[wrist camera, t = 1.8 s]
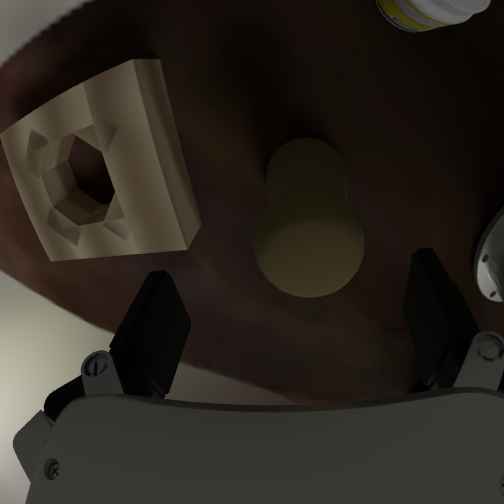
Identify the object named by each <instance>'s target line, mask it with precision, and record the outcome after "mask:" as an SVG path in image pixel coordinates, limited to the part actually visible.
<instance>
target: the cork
mask: <svg viewBox="0 0 504 504" xmlns="http://www.w3.org/2000/svg"><path fill="white" fill-rule="evenodd" d="M266 180H267V194H268V208H267V209H266V210H265V211H264V213H263V215H262V217H261V219H260V221H259V223H258V224H257V228H256V232H255V240H254V249H255V254H256V258H257V262H258V266H259V267H260V269H261V270H262V272H263V273H264V275H265V276H266V278H267V279H268V280H269V281H270V282H271V283H272V284H274V285H275V286H276V287H277V288H279V289H280V290H282V291H284V292H287V293H289V294H291V295H294V296H301V297H320V296H324V295H327V294H330V293H333V292H335V291H337V290H338V289H340V288H341V287H343V286H344V285H346V284H347V283H348V282H349V280H350V279H351V278H352V277H353V276H354V274H355V273H356V272H357V271H358V269H359V267H360V264H361V261H362V259H363V256H364V233H363V230H362V227H361V225H360V222H359V220H358V217H357V215H356V213H355V212H354V211H353V210H352V209H351V208H350V207H349V206H348V192H347V173H346V166H345V164H344V161H343V159H342V157H341V155H340V154H339V153H338V152H337V151H336V150H335V149H334V148H333V147H332V146H331V145H329V144H327V143H325V142H323V141H321V140H318V139H313V138H299V139H293V140H291V141H289V142H287V143H285V144H283V145H281V146H280V147H279V148H278V149H277V150H276V151H275V152H274V153H273V155H272V157H271V159H270V161H269V163H268V166H267V174H266Z"/></svg>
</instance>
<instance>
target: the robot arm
mask: <svg viewBox="0 0 504 504" xmlns="http://www.w3.org/2000/svg"><path fill="white" fill-rule="evenodd" d="M473 271H474V278H475V282H476V284H477V286H478V288H479V290H480V291H481V293H482V294H483V295H484V296H485V297H486V298H488V299H489V300H493V301H503V303H504V206H503V207H502V208H501V209H500V210H499V211H498V212H497V213H496V214H495V216H494V217H493V218H492V220H491V221H490V222H489V224H488V226H487V227H486V229H485V231H484V233H483V234H482V237H481V239H480V241H479V244H478V246H477V250H476V253H475V257H474V265H473ZM403 312H404V316H405V319H406V323H407V326H408V329H409V332H410V336H411V339H412V342H413V346H414V349H415V353H416V357H417V360H418V364H419V368H420V372H421V376H422V380H423V383H424V385H428V388H429V391H424V392H418V393H412V394H406V395H399V396H392V397H385V398H377V399H369V400H360V401H351V402H339V403H325V404H307V405H230V404H213V403H198V402H187V401H177V400H169V399H164V397H165V394H168V393H169V391H170V388H171V385H172V382H173V379H174V376H175V373H176V369H177V367H178V364H179V361H180V358H181V355H182V352H183V349H184V346H185V343H186V340H187V337H188V334H189V331H190V328H191V321H190V318H189V316H188V314H187V312H186V309H185V307H184V305H183V303H182V300H181V298H180V296H179V293H178V291H177V289H176V287H175V284H174V282H173V279H172V277H171V275H170V274H167V272H166V271H164V270H159V271H151V272H150V273H149V275H148V276H147V278H146V280H145V281H144V283H143V285H142V287H141V288H140V290H139V292H138V294H137V295H136V297H135V299H134V301H133V303H132V304H131V306H130V308H129V310H128V312H127V313H126V315H125V317H124V319H123V321H122V323H121V324H120V326H119V328H118V330H117V332H116V334H115V336H114V338H113V340H112V342H111V343H110V345H109V347H110V348H111V349H110V351H109V353H108V352H107V351H103V350H100V351H96V352H93V353H92V354H90V355H89V356H88V357H87V358H86V359H85V360H84V362H83V363H82V366H81V375H80V376H78V377H77V378H75V379H74V380H72V381H70V382H68V383H67V384H65V385H63V386H61V387H60V388H58V389H56V390H55V391H53V392H52V393H50V394H49V396H48V397H47V398H46V401H45V404H44V411H41V410H40V411H39V412H38V413H37V414H36V415H35V416H34V417H33V418H32V419H31V420H30V421H29V422H28V423H27V424H26V425H25V426H24V427H23V428H21V429H20V431H18V432H17V434H16V435H15V437H14V440H13V448H14V451H15V453H16V455H17V457H18V459H19V461H20V463H21V465H22V467H23V469H24V471H25V473H26V475H27V477H28V479H29V480H30V482H31V485H30V488H29V492H28V495H27V499H26V504H504V339H503V338H502V337H501V336H500V335H499V334H497V333H495V332H492V331H482V332H480V331H479V329H478V326H477V324H476V322H475V320H474V318H473V316H472V314H471V312H470V310H469V308H468V306H467V304H466V302H465V300H464V298H463V296H462V294H461V292H460V290H459V289H458V287H457V285H456V283H455V282H454V281H453V280H451V279H450V277H449V276H448V274H447V272H446V270H445V269H444V267H443V265H442V263H441V262H440V260H439V258H438V257H437V255H436V253H435V252H434V250H433V249H432V248H421V249H417V251H416V253H413V254H412V259H411V266H410V272H409V278H408V284H407V290H406V295H405V300H404V305H403Z"/></svg>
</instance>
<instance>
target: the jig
mask: <svg viewBox="0 0 504 504" xmlns="http://www.w3.org/2000/svg"><path fill="white" fill-rule="evenodd" d="M75 135H76V136H78V137H80V138H81V139H83V140H84V141H86V142H87V143H89V144H90V145H92V146H93V147H95V148H96V149H98V150H99V151H101V152H102V154H103V157H104V160H105V163H106V166H107V169H108V172H109V175H110V178H111V181H112V183H113V186H114V189H115V194H114V196H113V199H112V201H111V203H108V204H104V205H102V204H100V203H99V202H97V201H96V200H94V199H93V198H91V197H90V196H89V195H87V194H86V193H84V192H83V191H81V190H80V189H79V188H78V186H77V183H76V180H75V178H74V175H73V172H72V169H71V166H70V163H69V160H68V158H69V155H70V151H71V148H72V145H73V141H74V138H75ZM0 137H1V141H2V144H3V148H4V151H5V154H6V157H7V160H8V163H9V166H10V169H11V172H12V175H13V177H14V180H15V183H16V185H17V188H18V191H19V193H20V196H21V198H22V201H23V203H24V205H25V208H26V210H27V212H28V215H29V217H30V219H31V222H32V224H33V226H34V228H35V230H36V232H37V234H38V237H39V239H40V241H41V243H42V245H43V247H44V249H45V251H46V253H47V255H48V256H49V258H50V260H51V261H61V260H72V259H83V258H95V257H106V256H118V255H129V254H141V253H153V252H165V251H177V250H187V249H188V247H189V245H190V244H191V242H192V240H193V238H194V237H195V235H196V233H197V231H198V230H199V228H200V226H201V225H202V221H201V217H200V214H199V210H198V207H197V203H196V200H195V196H194V193H193V189H192V186H191V182H190V178H189V175H188V171H187V168H186V164H185V160H184V156H183V153H182V149H181V145H180V141H179V137H178V134H177V130H176V126H175V122H174V118H173V114H172V110H171V106H170V102H169V98H168V93H167V89H166V85H165V81H164V77H163V72H162V68H161V64H160V59H132V60H130V61H127V62H125V63H123V64H120V65H118V66H116V67H113V68H111V69H109V70H107V71H105V72H102V73H100V74H98V75H96V76H94V77H92V78H90V79H88V80H86V81H84V82H82V83H80V84H78V85H77V86H75V87H73V88H71V89H69V90H67V91H66V92H64V93H62V94H60V95H59V96H57V97H55V98H53V99H52V100H50V101H48V102H47V103H45V104H44V105H42V106H40V107H39V108H37V109H36V110H34V111H33V112H31V113H30V114H28V115H27V116H25V117H24V118H22V119H21V120H19V121H18V122H16V123H15V124H14V125H12V126H11V127H9V128H8V129H7V130H5V131H4V132H3V133H1V134H0Z"/></svg>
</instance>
